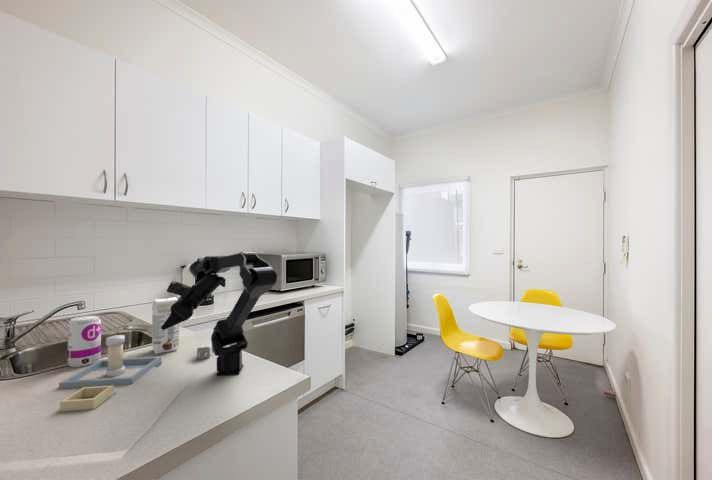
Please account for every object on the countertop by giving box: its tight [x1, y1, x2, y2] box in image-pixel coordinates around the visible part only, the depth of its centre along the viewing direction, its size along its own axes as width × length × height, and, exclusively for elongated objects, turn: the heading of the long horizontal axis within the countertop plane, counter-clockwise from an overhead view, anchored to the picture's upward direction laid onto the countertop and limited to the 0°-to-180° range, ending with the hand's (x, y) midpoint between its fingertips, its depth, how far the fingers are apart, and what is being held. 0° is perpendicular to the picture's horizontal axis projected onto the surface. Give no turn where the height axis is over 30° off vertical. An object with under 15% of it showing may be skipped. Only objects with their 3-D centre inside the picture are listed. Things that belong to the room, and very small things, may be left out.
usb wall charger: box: [196, 342, 213, 360], centre depth 104 cm, size 4×7×4 cm, turn 16°
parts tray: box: [58, 356, 162, 390], centre depth 89 cm, size 18×16×2 cm
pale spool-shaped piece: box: [105, 334, 126, 378], centre depth 89 cm, size 4×4×11 cm
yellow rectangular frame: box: [55, 385, 117, 414], centre depth 73 cm, size 8×8×3 cm
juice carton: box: [151, 297, 180, 355], centre depth 112 cm, size 8×9×19 cm
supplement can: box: [67, 314, 102, 368], centre depth 100 cm, size 8×8×15 cm
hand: (165, 325), depth 96 cm, fingers open, 9 cm apart
